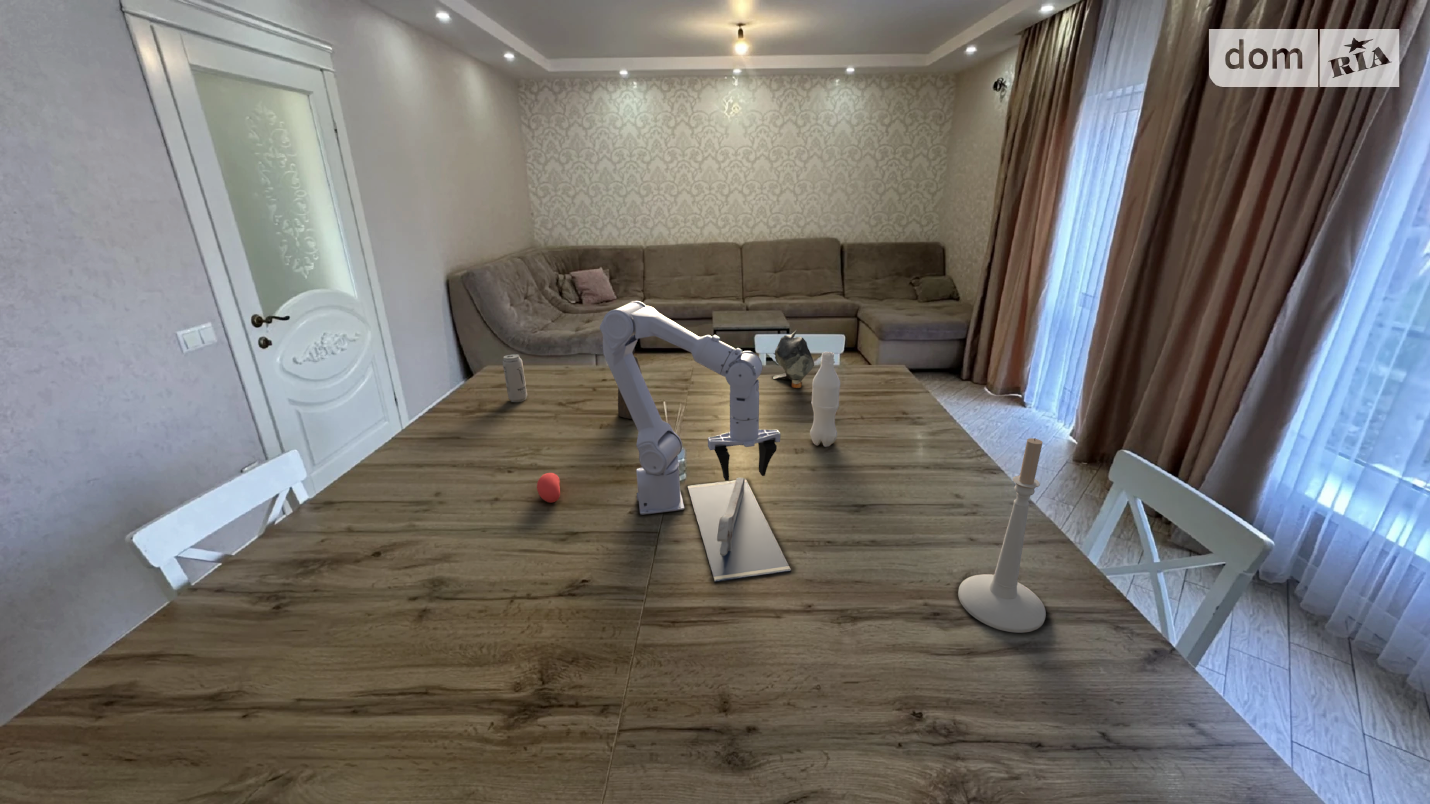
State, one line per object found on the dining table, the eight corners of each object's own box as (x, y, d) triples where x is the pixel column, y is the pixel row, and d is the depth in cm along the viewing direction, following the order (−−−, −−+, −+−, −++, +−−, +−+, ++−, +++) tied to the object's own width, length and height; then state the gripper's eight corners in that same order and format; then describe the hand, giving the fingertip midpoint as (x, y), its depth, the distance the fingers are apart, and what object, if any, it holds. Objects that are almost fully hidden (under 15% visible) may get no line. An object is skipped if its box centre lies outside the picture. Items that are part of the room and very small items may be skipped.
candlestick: (1042, 644, 82) (1088, 466, 71) (951, 613, 89) (980, 445, 78) (1047, 594, 92) (1087, 431, 81) (965, 568, 99) (992, 414, 88)
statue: (645, 410, 172) (640, 332, 163) (648, 419, 165) (643, 338, 156) (618, 412, 171) (611, 334, 162) (619, 422, 164) (612, 340, 155)
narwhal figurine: (770, 390, 186) (771, 339, 180) (773, 376, 200) (774, 328, 194) (813, 392, 184) (815, 340, 178) (813, 377, 198) (815, 328, 192)
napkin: (714, 582, 97) (714, 581, 97) (687, 486, 128) (687, 485, 128) (791, 571, 99) (791, 570, 99) (745, 479, 130) (745, 479, 130)
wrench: (744, 498, 127) (726, 568, 99) (736, 497, 128) (716, 567, 99) (745, 465, 125) (726, 527, 97) (737, 465, 126) (716, 526, 97)
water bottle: (806, 446, 146) (810, 356, 137) (812, 435, 152) (816, 348, 143) (833, 450, 144) (839, 358, 135) (838, 439, 150) (844, 350, 141)
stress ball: (531, 509, 122) (536, 492, 118) (537, 478, 129) (542, 461, 125) (555, 513, 124) (560, 496, 120) (560, 482, 130) (565, 465, 127)
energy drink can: (524, 402, 180) (517, 358, 175) (506, 403, 180) (498, 359, 175) (530, 396, 186) (523, 353, 180) (512, 396, 186) (505, 353, 181)
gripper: (712, 426, 102) (714, 490, 107) (786, 418, 105) (784, 480, 110) (704, 412, 109) (706, 473, 114) (774, 405, 112) (772, 464, 117)
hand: (744, 476), depth 112 cm, fingers open, 7 cm apart
